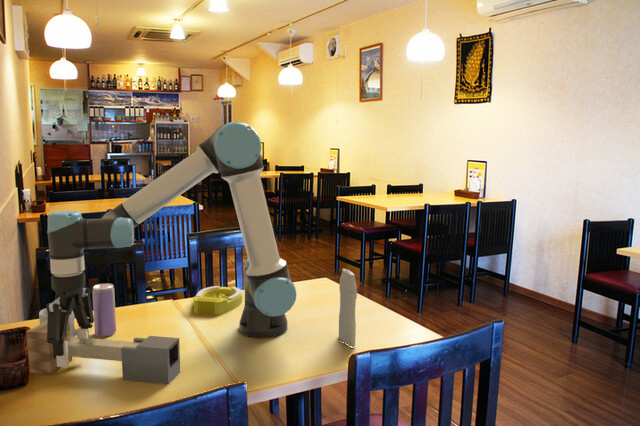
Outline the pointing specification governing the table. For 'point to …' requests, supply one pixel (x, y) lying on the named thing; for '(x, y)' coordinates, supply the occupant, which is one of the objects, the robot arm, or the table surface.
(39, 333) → the socket block
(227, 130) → the robot arm
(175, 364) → the sleeve
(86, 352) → the beige square bar
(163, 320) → the table surface
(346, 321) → the tall pale column
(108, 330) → the beverage can
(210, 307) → the ashtray
